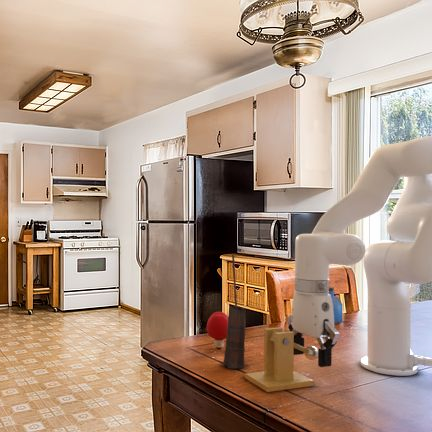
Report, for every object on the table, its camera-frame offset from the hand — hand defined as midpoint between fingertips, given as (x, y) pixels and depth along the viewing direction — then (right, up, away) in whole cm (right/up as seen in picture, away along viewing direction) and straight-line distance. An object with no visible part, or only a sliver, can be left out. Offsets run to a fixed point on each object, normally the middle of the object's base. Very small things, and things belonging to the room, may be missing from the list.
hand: (310, 359), depth 110 cm
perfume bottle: (+28, -4, +60) cm, 66 cm away
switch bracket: (-8, -4, -3) cm, 10 cm away
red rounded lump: (-18, -4, +24) cm, 30 cm away
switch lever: (-5, +2, -2) cm, 5 cm away
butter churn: (-16, -4, +8) cm, 18 cm away
